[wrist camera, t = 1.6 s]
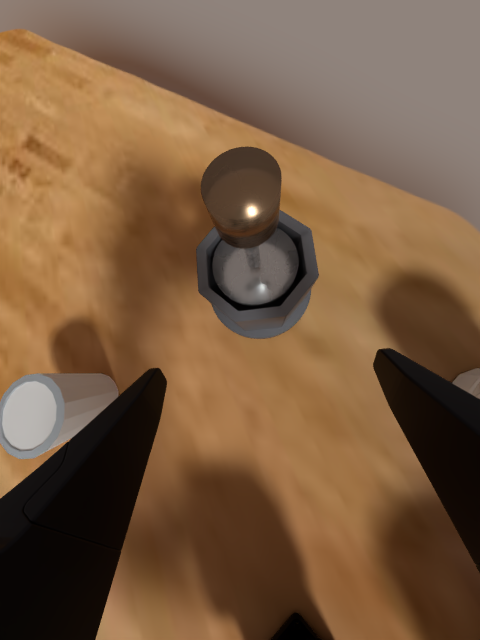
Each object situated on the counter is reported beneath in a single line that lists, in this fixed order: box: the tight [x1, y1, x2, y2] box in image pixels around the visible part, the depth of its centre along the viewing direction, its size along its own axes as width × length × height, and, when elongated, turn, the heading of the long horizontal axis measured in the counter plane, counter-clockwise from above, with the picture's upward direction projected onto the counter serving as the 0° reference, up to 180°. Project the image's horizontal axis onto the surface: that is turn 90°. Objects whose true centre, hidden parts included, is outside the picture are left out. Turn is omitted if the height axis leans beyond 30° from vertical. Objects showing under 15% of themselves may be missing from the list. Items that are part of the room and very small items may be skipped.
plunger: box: [201, 147, 299, 306], centre depth 13 cm, size 7×7×8 cm
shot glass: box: [0, 373, 118, 459], centre depth 20 cm, size 7×7×7 cm
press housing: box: [196, 210, 319, 339], centre depth 20 cm, size 13×11×8 cm
